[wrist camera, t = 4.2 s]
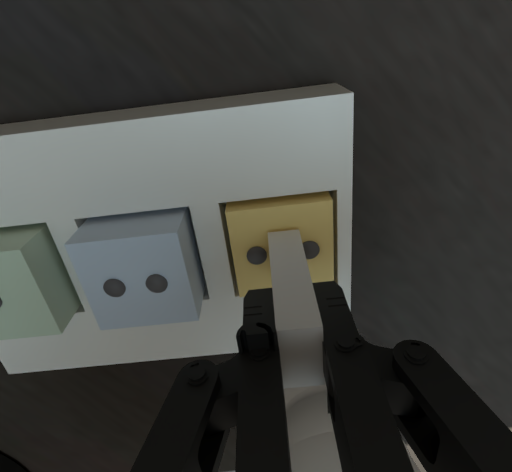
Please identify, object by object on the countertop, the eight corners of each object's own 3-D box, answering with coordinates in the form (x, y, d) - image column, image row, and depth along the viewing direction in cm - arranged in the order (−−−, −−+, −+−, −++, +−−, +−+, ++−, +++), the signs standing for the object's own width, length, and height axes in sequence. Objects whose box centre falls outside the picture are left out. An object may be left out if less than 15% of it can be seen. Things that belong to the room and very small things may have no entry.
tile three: (240, 266, 22) (239, 298, 19) (228, 188, 20) (225, 213, 17) (323, 257, 22) (334, 289, 19) (321, 178, 19) (333, 201, 17)
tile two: (119, 293, 21) (99, 331, 18) (90, 215, 18) (63, 245, 16) (205, 284, 21) (198, 322, 18) (187, 204, 18) (176, 233, 16)
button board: (37, 333, 26) (9, 374, 23) (-71, 133, 19) (-134, 152, 16) (337, 303, 25) (350, 341, 22) (335, 82, 18) (353, 92, 15)
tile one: (1, 305, 21) (-35, 345, 18) (-42, 230, 19) (-92, 262, 16) (85, 296, 21) (60, 335, 18) (52, 219, 19) (18, 250, 16)
